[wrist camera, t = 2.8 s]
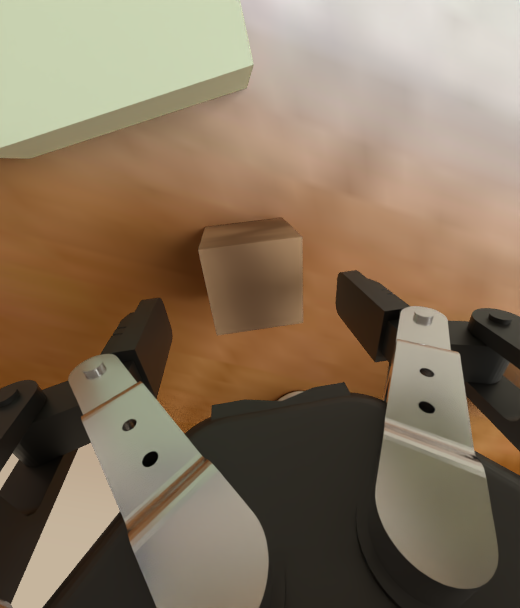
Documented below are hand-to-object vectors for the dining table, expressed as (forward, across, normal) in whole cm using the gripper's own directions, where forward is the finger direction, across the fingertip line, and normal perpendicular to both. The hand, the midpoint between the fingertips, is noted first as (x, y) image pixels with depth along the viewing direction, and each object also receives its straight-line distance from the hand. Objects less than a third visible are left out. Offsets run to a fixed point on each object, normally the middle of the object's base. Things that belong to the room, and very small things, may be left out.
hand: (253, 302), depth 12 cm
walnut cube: (+7, 0, 0) cm, 7 cm away
